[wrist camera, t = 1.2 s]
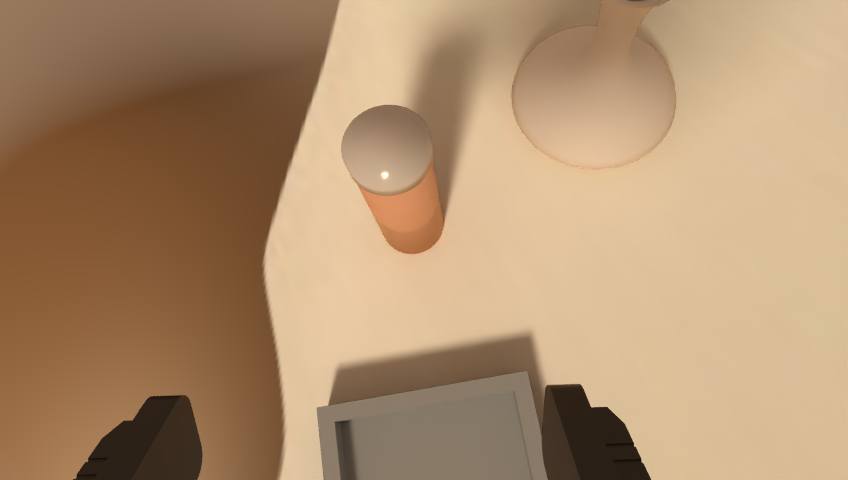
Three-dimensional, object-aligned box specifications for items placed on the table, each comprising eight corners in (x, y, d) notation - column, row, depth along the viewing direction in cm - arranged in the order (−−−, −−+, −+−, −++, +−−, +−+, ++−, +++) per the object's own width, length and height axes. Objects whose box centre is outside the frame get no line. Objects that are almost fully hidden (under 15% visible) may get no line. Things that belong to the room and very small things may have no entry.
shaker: (438, 189, 41) (423, 97, 29) (450, 248, 39) (438, 177, 28) (376, 200, 41) (336, 114, 29) (385, 260, 39) (347, 194, 28)
